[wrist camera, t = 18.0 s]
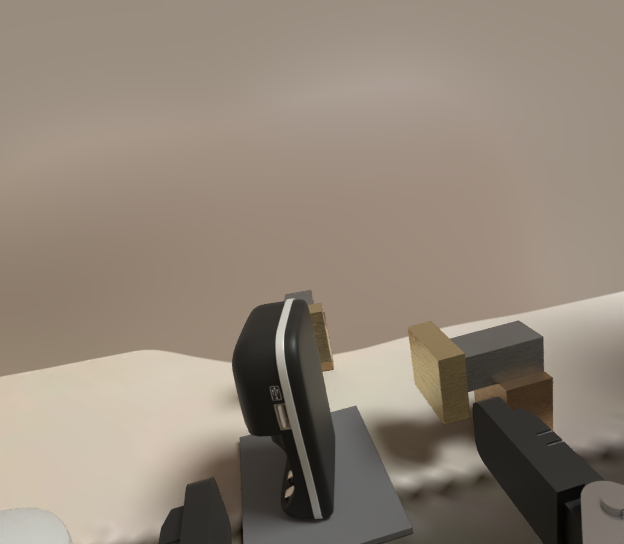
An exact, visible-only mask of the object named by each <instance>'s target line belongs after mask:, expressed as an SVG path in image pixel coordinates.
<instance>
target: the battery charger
mask: <svg viewBox="0 0 624 544" xmlns="http://www.w3.org/2000/svg"><path fill="white" fill-rule="evenodd" d="M232 369H233V375H234V380H235V384H236V389H237V393H238V398H239V402H240V406H241V410H242V414H243V417H244V421H245V424H246V426H247V428H248V430H249V433H250V434H251V435H253V436H258V437H264V436H271V439H272V441H273V442H274V443H276V444H277V445H278V446H280V447H281V448H282V449H283V450H284V451H285V453H286V454H287V459H286V466H285V472H284V478H283V484H282V490H281V506H282V509H283V511H284V512H285V513H286V514H287V515H289V516H292V517H297V518H313V517H314V518H315V519H322V518H323V517H325V516H330V515H332V514H333V511H334V483H335V432H334V427H333V422H332V418H331V413H330V408H329V403H328V398H327V393H326V388H325V383H324V378H323V373H322V368H321V363H320V358H319V353H318V348H317V344H316V339H315V334H314V329H313V325H312V320H311V316H310V311H309V308H308V305H307V303H306V301H305V300H302V299H297V300H295V299H294V298H293V299H287V300H286V301H283V302H276V303H270V304H264V305H260V306H258V307H256V308H255V309H253V311H252V312H251V314H250V315H249V317H248V319H247V321H246V323H245V325H244V327H243V329H242V332H241V334H240V336H239V339H238V341H237V344H236V346H235V350H234V354H233V359H232Z"/></svg>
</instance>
